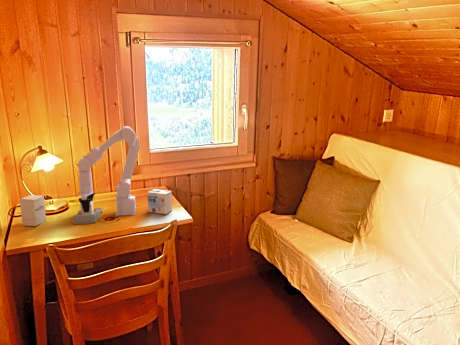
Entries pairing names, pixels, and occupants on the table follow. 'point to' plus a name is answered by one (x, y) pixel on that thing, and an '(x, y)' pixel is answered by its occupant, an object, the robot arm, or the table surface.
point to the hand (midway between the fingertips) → (88, 209)
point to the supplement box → (33, 210)
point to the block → (89, 209)
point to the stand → (99, 209)
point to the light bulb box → (159, 201)
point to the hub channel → (86, 218)
